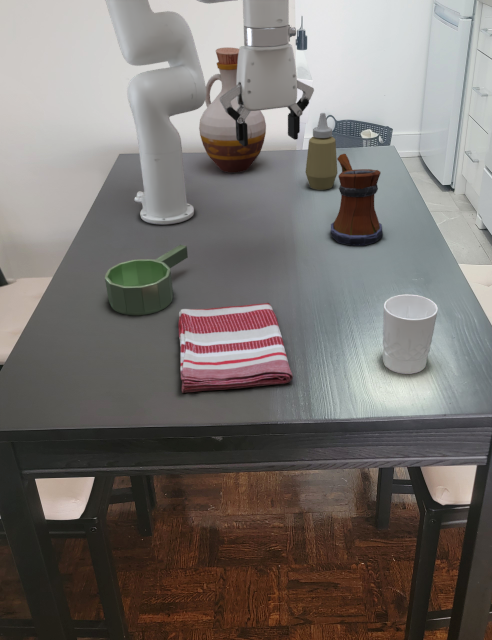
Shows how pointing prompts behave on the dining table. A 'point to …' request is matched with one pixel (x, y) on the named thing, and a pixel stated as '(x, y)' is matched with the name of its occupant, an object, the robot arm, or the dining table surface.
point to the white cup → (408, 332)
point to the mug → (356, 206)
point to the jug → (229, 121)
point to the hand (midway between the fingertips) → (268, 140)
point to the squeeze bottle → (321, 157)
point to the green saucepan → (143, 283)
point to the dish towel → (231, 348)
